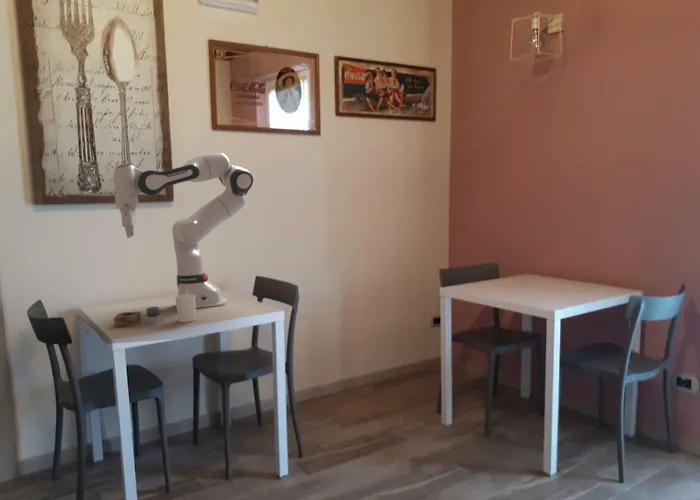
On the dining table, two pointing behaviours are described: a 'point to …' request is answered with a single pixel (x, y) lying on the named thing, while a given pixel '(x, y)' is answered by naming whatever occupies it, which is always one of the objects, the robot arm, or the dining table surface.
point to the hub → (127, 319)
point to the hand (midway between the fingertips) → (130, 236)
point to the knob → (153, 314)
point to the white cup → (186, 307)
